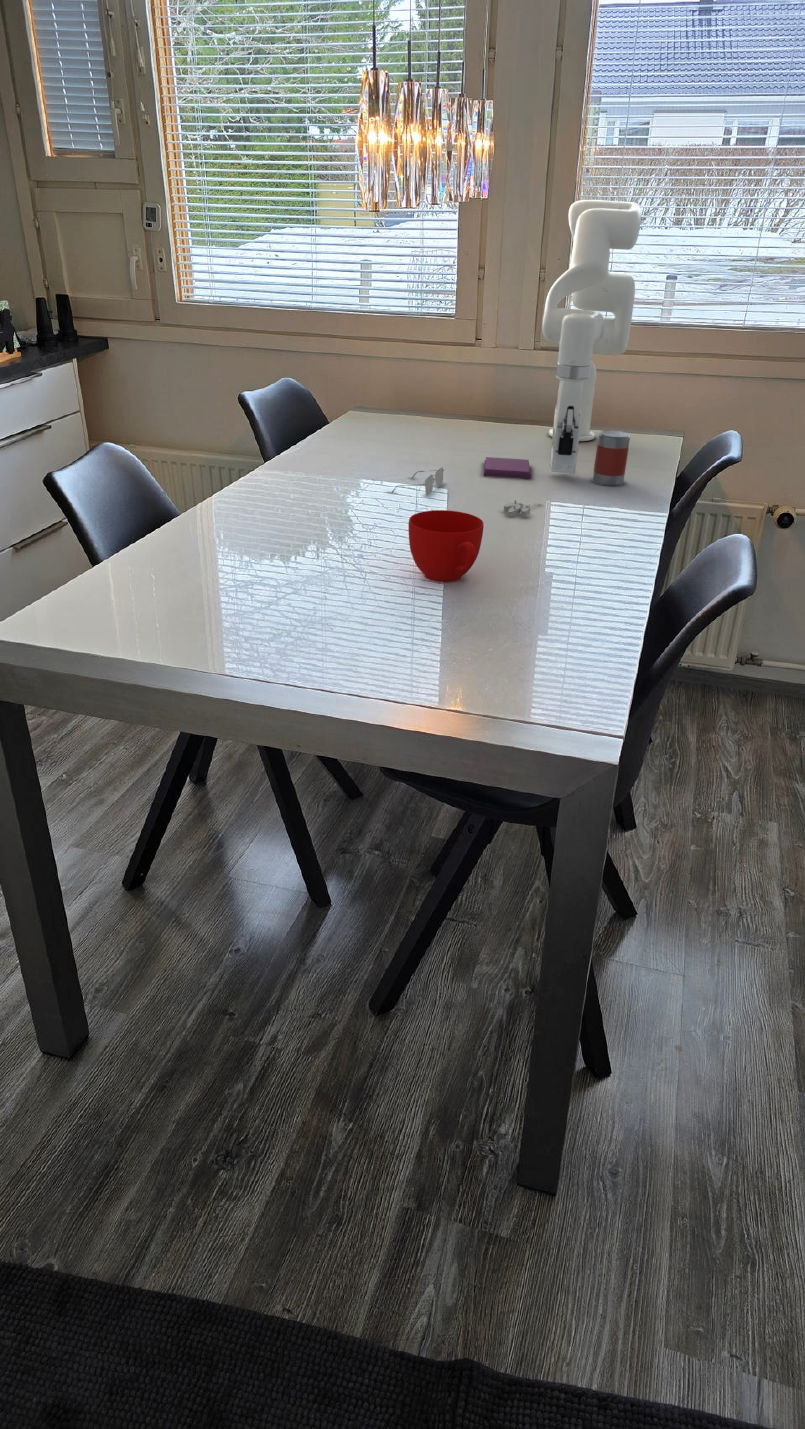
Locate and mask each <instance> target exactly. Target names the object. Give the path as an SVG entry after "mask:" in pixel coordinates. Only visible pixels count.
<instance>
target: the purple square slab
mask: <svg viewBox="0 0 805 1429" xmlns="http://www.w3.org/2000/svg"><path fill="white" fill-rule="evenodd" d="M483 477H496V478H507V479H509V478H510V479H523V480H524V479H525V480H530V479H531V466H530V460H529V459H525V458H524V459H522V458H510V457H509V458H507V457H494V456H485V459H484V466H483Z"/></svg>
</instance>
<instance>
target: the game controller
mask: <svg viewBox="0 0 805 1429" xmlns="http://www.w3.org/2000/svg"><path fill="white" fill-rule="evenodd" d="M536 504H539V505H538V506H540V505H541V504H540V503H538V502H536V503H535V504H534V505H533V506H531V504H527V503H523V502H520V501H519V502H518V501H517V500H516V499H515V500H513V501H509V502H507V503H505V504H503V512H505V513H507V516H508V518H513V517H515V516H517V515H519V514H521V517H524V518H525V517H527V516H528V515H530V513H531V507H535V506H536Z"/></svg>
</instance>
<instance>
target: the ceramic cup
mask: <svg viewBox="0 0 805 1429" xmlns="http://www.w3.org/2000/svg"><path fill="white" fill-rule="evenodd" d="M484 526H485V525H484V521H483V520H482V519H481V518H480V517H478V516H476V515H473V514H471V513H467V512H462V511H458V510H448V509H447V510H445V509H439V510H438V509H437V510H436V509H434V510H425V511H420V512H417V513H414V514H412V515H411V516H410V517H409V519H408V544H409V550H410V554H411V556H412V559H413V562H414V564H415V565H416V567H417V568H418V570H419V571H420V573H422V575H423V576H424V578H425V579H427V580H429V581H432V582H435V583H455V582H458V581H459V580H461V579H462V577H464V576H465V575H466V574H467V573H468V572H469V571H470V570H471V569H472V567H473V565H474V564H475V562H476V560H477V558H478V556H479V553H480V550H481V545H482V541H483V535H484V528H485V527H484Z"/></svg>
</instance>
